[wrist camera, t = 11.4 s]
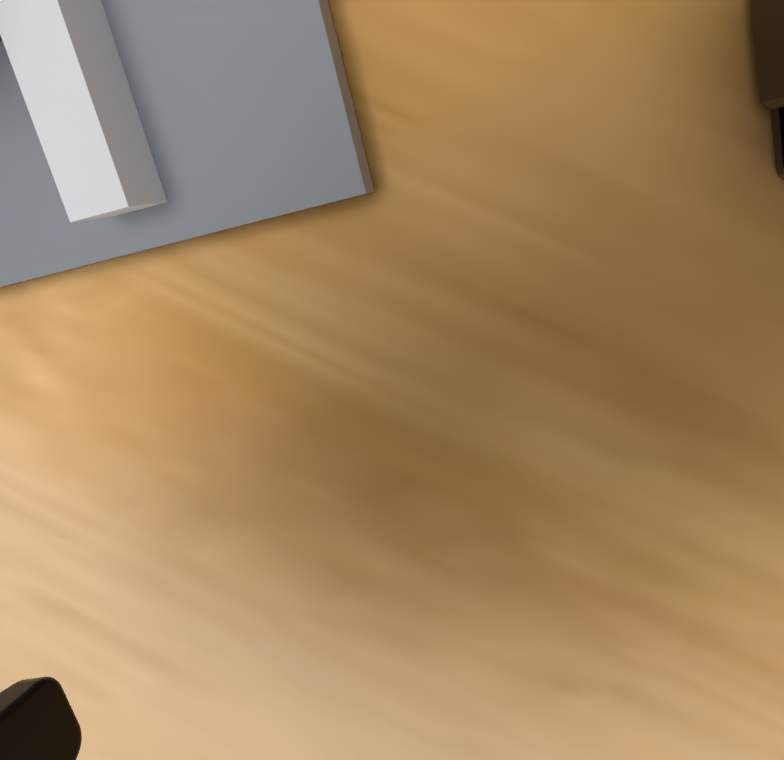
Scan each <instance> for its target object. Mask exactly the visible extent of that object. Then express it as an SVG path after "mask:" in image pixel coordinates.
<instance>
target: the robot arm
mask: <svg viewBox="0 0 784 760" xmlns="http://www.w3.org/2000/svg"><path fill="white" fill-rule="evenodd" d="M751 2H752V14H753V26H754V38H755V51H756V63H757V75H758V87H759V98H760V101H761V102H762V103H763V104H765V105H766V106H767V107H769V108H771V111H772V124H773V137H774V150H775V163H776V169H777V172H778V174H779V175H780V176H781V177H782V179H784V0H751ZM80 746H81V728H80V725H79V723H78V721H77V719H76V717H75V714H74V712H73V710H72V708H71V706H70V704H69V702H68V699H67V697H66V695H65V693H64V691H63V689H62V686H61V685H60V683H59V682H58V681H57V680H55V679H54V678H51V677H40V678H33V679H26V680H21V681H19V682H17V683H15V684H13V685H11V686H10V687H8V688H7V689H5V690H4V691H2V692H0V760H76V758H77V756H78V753H79V750H80Z"/></svg>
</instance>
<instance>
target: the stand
mask: <svg viewBox="0 0 784 760" xmlns="http://www.w3.org/2000/svg"><path fill="white" fill-rule="evenodd" d="M0 35H1V38H2V41H0V287H2V286H6V285H10V284H14V283H18V282H22V281H26V280H30V279H34V278H37V277H41V276H45V275H49V274H53V273H57V272H61V271H65V270H69V269H73V268H77V267H81V266H85V265H88V264H92V263H96V262H100V261H104V260H108V259H112V258H116V257H120V256H124V255H128V254H132V253H135V252H139V251H143V250H147V249H151V248H155V247H159V246H163V245H167V244H171V243H175V242H179V241H182V240H186V239H190V238H194V237H198V236H202V235H206V234H210V233H214V232H218V231H222V230H226V229H229V228H233V227H237V226H241V225H245V224H249V223H253V222H257V221H261V220H265V219H269V218H273V217H276V216H280V215H284V214H288V213H292V212H296V211H300V210H304V209H308V208H312V207H316V206H320V205H323V204H327V203H331V202H335V201H339V200H343V199H347V198H351V197H355V196H359V195H363V194H367V193H370V192H374V187H373V183H372V178H371V174H370V170H369V166H368V162H367V158H366V154H365V150H364V146H363V141H362V137H361V133H360V129H359V125H358V121H357V117H356V113H355V108H354V104H353V100H352V96H351V92H350V88H349V84H348V80H347V76H346V71H345V67H344V63H343V59H342V55H341V51H340V47H339V43H338V38H337V34H336V30H335V26H334V22H333V18H332V14H331V10H330V6H329V1H328V0H0Z"/></svg>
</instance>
